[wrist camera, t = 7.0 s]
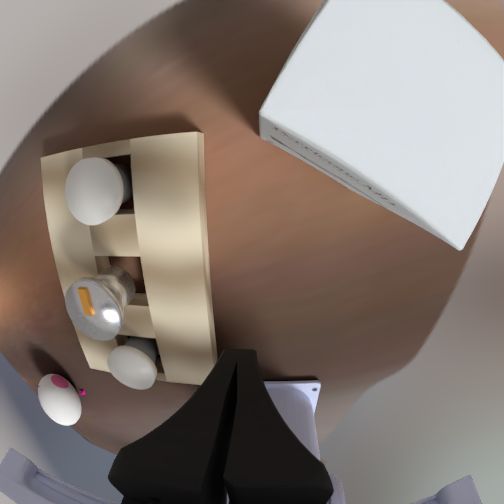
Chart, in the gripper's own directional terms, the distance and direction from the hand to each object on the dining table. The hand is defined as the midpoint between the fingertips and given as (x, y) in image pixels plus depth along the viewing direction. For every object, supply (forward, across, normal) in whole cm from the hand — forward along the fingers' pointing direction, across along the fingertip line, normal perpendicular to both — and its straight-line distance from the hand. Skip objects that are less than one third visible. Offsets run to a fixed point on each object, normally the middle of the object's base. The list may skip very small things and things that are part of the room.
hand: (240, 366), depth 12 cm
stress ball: (+10, +24, +17) cm, 31 cm away
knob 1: (+10, +9, -7) cm, 15 cm away
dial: (+7, +9, 0) cm, 12 cm away
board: (+10, +10, 0) cm, 14 cm away
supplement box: (+10, -6, -11) cm, 16 cm away
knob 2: (+10, +10, +7) cm, 15 cm away
